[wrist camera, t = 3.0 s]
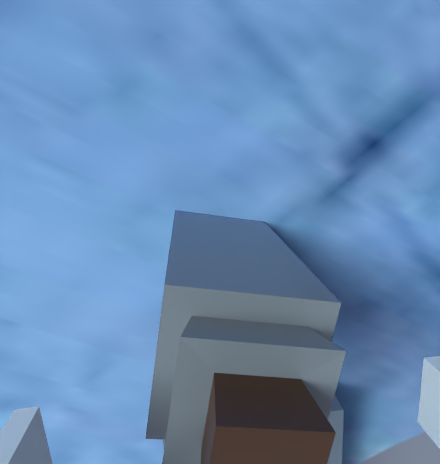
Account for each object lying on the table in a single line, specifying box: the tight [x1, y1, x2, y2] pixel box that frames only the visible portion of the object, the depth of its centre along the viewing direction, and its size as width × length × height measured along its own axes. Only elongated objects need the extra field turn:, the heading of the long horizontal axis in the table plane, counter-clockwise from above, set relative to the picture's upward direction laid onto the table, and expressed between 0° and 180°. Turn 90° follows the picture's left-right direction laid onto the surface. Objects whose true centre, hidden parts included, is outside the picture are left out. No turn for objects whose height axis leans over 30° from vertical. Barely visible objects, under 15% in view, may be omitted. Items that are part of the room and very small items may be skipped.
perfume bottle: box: [146, 210, 346, 464], centre depth 18 cm, size 7×7×18 cm
